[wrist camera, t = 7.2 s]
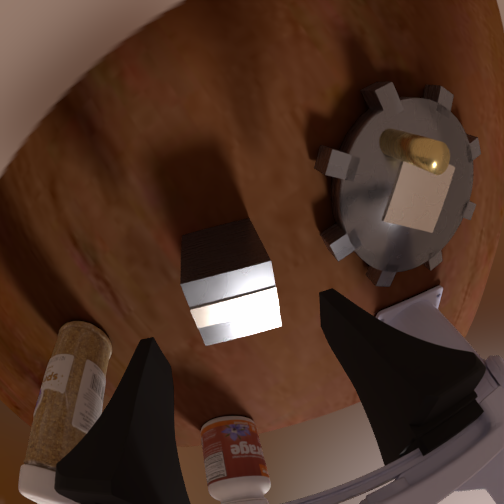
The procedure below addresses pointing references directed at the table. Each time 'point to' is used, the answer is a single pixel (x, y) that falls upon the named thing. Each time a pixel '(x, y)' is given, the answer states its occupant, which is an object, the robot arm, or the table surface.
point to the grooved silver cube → (229, 282)
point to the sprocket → (399, 181)
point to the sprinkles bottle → (65, 407)
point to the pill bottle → (234, 461)
